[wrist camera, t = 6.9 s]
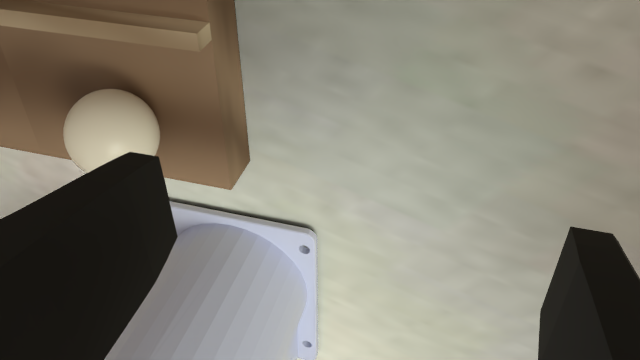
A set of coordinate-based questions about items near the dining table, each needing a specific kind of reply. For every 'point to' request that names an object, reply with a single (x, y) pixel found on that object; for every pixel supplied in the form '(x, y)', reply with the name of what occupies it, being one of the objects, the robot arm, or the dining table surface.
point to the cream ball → (109, 128)
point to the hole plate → (128, 76)
